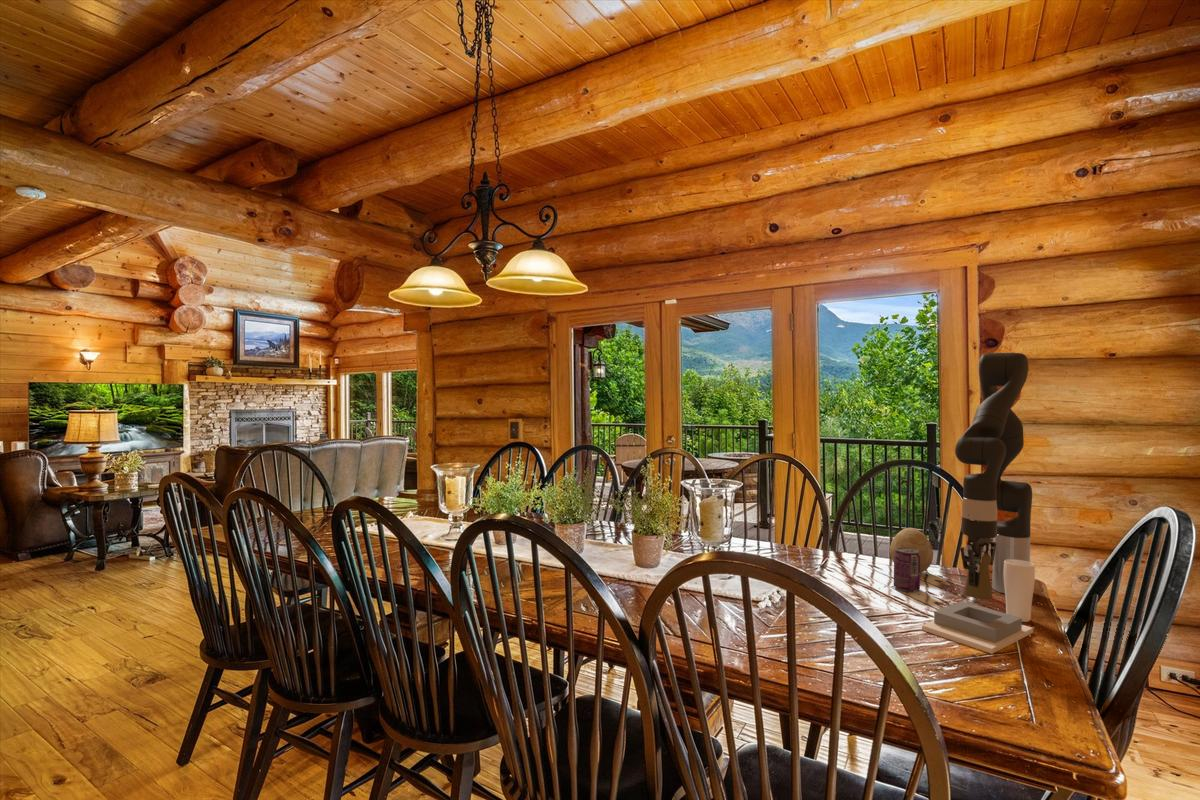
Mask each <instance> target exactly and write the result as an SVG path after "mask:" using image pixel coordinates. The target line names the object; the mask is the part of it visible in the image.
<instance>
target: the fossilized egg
mask: <svg viewBox="0 0 1200 800" xmlns="http://www.w3.org/2000/svg"><path fill="white" fill-rule="evenodd" d="M929 540H930V539H928V537H927V536H926V534H924V532H922V531H921V530H919V529H917V528H914V527H906V528H904V529H901V530H900V531H899V532H897V534H896V535H895V536H894V537H893V539H892V540H891V543H890V547H889V555H890V558H891V560H892V562H893V563H894V554H895V552H896V548H900V547H904V548H912V549H915V550H918V551H919V553H918V554H919V556H920V574H921V573H924V572H925V571H927V570H928V569H929V568H930V566H931V565H932V562H933V560H934V550H933V546H932V544H931V542H930V541H929Z"/></svg>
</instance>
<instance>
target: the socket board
mask: <svg viewBox="0 0 1200 800" xmlns="http://www.w3.org/2000/svg"><path fill="white" fill-rule="evenodd" d="M933 612H934V613H933V614H934V615H933V620H932V621H929V622H927V623H924V624H922V625H921V631H924V632H926V633H928V634H929V633H930V634H933V635H935V636H938V637H941V638H944V639H947V640H949V641H953V642H956V643H959V644H961V645H964V646H967V647H971V648H973V649H977V650H980V651H981V652H986V653H988V654H990V655H992V654H994V653H996V652H998V651H1000V650H1002V649H1004V648H1006V647H1008V646H1010V645H1011V644H1014V643H1016V642H1018V641H1019V640H1022V639H1023V638H1025V637H1028V636H1030V635H1032V634H1033V633H1034V627H1031V626H1028V625H1024V624H1022V623H1023V622H1022V618H1020V617H1016V616H1013V615H1009V614H1006V612H1001V611H998V610H995V609H991V608H989V607H988V608H987V607H984V606H981V605H979V604H978V605H977V604H974V603H970V602H967V601H964V600H961V601H959V602H955V603H953V604H950V605H947V606H945V607H943V608H940V609H938V610H934V611H933Z"/></svg>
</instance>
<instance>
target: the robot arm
mask: <svg viewBox="0 0 1200 800" xmlns="http://www.w3.org/2000/svg"><path fill="white" fill-rule="evenodd" d="M978 361H979V362H978V375H979V384H980V390H981V395H982V402H981V403H980V404H979V406H978V407H977V408H976V411H975V414H974V417H973V420H972V422H971V425H970V426H968V428H967V429H966V430H965V431H964V432H963V433H962V435H961V436H960V437H959V438H958V440H957V442H956V444H955V449H954V453H955V457H956V459H957V460H958V461H959V462H961V463H962V464H965V465H976V466H977V465H978V466H985V467H986V469H985V471H984V472H980V473H978V472H977V473H970V474H966V475H965V476H964V478H963V481H962V482H963V484H962V485H963V486H962V487H963V489H962V490H963V491H962V495H963V496H962V503H961V504H962V505H961V533H962V534H963V535H965V536H967V541H966V546H965V547H964V546H961V547H960V556H961V561H962V566H963V569H964V570H967V571H968V570H969V585H970V586H974V587H978V586H979V575H980V572H979V571H980V563H982V562H983V556H984V553H987V554H989V555H990V557H991V563H990V565H989V566H988V567H989V569H990V568H991V567H990V566H992V576H991V577H992V579H991V581H992V584H991V589H992V590H994V591H996V592H999V593H1001V594H1004V595H1005V588H1004V561H1005V560H1008V559H1014V560H1022V561H1027V562H1030V563H1031V517H1032V516H1031V515H1032V506H1033V504H1032V503H1033V488H1032V486H1031V484H1030V483H1028V482H1026V481H1025V482H1024V481H1013V480H1003V479H1001V478H1002V477H1003V474H1004V472H1005V470H1006V469H1007V468H1008V467H1009V465H1010V464H1011V463H1012V462H1013V461H1014V460H1015V459H1016V458H1017V457H1018V456H1019V455H1020V453H1021V451H1022V450H1023V448H1024V444H1025V443H1024V442H1025V440H1024V438H1025V437H1024V425H1023V423H1022V421H1021V419H1020V418H1019V417H1018V416H1017V414H1016V413H1015V412H1014V411H1013V410H1012V407H1013V405H1014V404H1015V402H1016V400H1017V398H1019V395H1020V393H1021V391H1022V389H1023V388H1024V385H1025V384H1026V381H1027V378H1028V375H1029V361H1028V357H1027V356H1026V354H1024V353H1022V352H1021V353H1020V352H986V353H983V354H982V355H980V358H979V360H978ZM998 387H1000V389H998ZM998 511H1001V512H1010V513H1017V515H1016V516H1014V518H1010V519H1006V520H1001V521H998ZM991 539H992V540H991ZM974 556H975V557H979V559H975V558H974ZM975 562H976V564H975Z"/></svg>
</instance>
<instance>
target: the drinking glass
mask: <svg viewBox="0 0 1200 800" xmlns="http://www.w3.org/2000/svg"><path fill="white" fill-rule="evenodd" d="M1035 567H1036V566H1035V563H1032V562H1031V561H1030V562H1027V561H1022V560H1014V559H1008V560H1005V561H1004V588H1005V594H1004V596H1005V613H1006V614H1009V615H1013V616H1016V617H1020V618H1022V623H1027V622H1030V621H1031V619H1032V618H1031V617H1032V614H1031V613H1032V606H1033V605H1032V604H1033V599H1034V598H1033V597H1034V589H1035V581H1036V570H1035V569H1036V568H1035Z"/></svg>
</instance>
